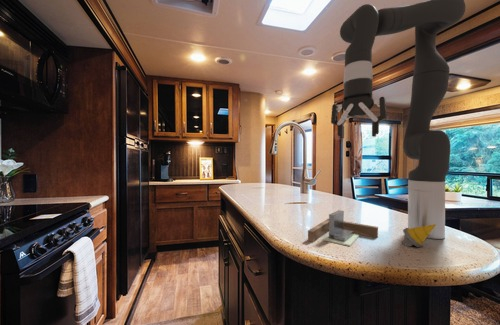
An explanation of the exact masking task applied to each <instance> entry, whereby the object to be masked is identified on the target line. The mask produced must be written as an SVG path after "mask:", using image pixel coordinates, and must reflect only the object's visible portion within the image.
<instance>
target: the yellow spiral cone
mask: <svg viewBox="0 0 500 325" xmlns="http://www.w3.org/2000/svg"><path fill="white" fill-rule="evenodd" d="M435 226H436V224H434V225H428V226H422V227H416V228H410V229H409V228H408V227H406V228H404V229H402V230H403V231H402V232H403V234H404V237H403V238H404V239H403V241H402V244H403V243H404V244H403V245H405V244H406V245H405V246H407V245H408V246H407V247H409V246H410V247H412V246H413V245H414V246H415V247H417V248H420V247H423V243H424V241H425V240H426V239H428V238H427V235H429V234H430V232H431V231H432V230H433V228H434V227H435Z"/></svg>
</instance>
